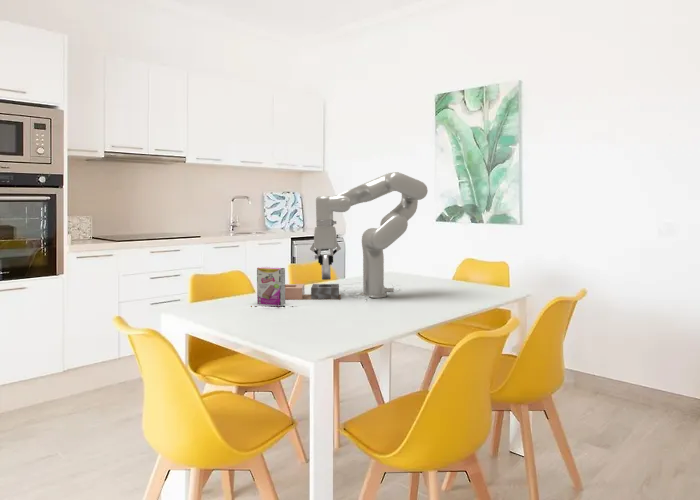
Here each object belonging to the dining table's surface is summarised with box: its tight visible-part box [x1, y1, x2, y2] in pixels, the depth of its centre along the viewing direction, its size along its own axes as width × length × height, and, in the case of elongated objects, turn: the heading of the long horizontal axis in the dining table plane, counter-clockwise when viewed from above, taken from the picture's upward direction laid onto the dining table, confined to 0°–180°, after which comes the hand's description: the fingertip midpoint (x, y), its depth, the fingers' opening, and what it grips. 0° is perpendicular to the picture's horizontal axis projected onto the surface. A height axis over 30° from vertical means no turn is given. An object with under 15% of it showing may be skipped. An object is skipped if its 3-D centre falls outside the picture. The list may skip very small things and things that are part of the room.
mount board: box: [285, 283, 342, 301], centre depth 250 cm, size 30×14×6 cm, turn 90°
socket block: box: [285, 283, 305, 299], centre depth 250 cm, size 12×12×5 cm
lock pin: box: [320, 254, 332, 281], centre depth 249 cm, size 4×4×11 cm
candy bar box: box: [256, 266, 286, 308], centre depth 233 cm, size 11×5×16 cm, turn 71°
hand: (325, 264), depth 249 cm, fingers closed on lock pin, 4 cm apart
